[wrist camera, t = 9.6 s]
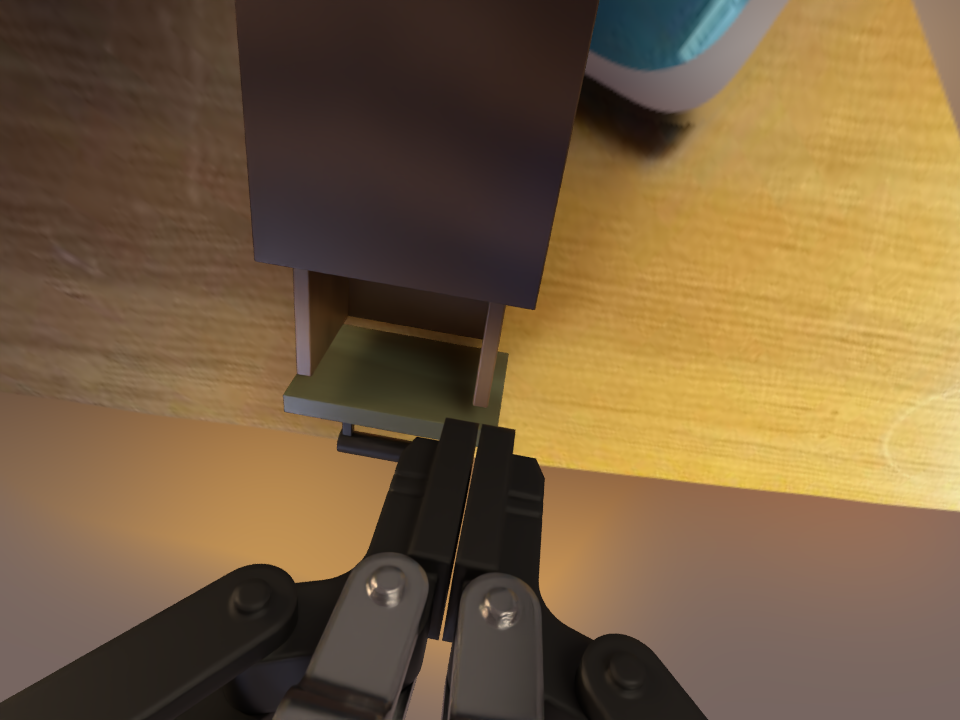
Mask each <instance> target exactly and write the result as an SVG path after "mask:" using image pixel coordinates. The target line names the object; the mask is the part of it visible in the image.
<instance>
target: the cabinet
mask: <svg viewBox="0 0 960 720" xmlns="http://www.w3.org/2000/svg"><path fill="white" fill-rule="evenodd" d="M598 5H599V0H235V9H236V22H237V35H238V49H239V62H240V75H241V88H242V102H243V115H244V128H245V141H246V154H247V168H248V181H249V194H250V207H251V221H252V234H253V247H254V260H255V261H257V262H263V263H268V264H274V265H280V266H286V267H291V268H297V269H303V270H308V271H314V272H320V273H326V274H331V275H337V276H343V277H348V278H354V279H360V280H366V281H371V282H377V283H383V284H388V285H394V286H400V287H406V288H411V289H417V290H423V291H428V292H434V293H440V294H446V295H451V296H457V297H463V298H468V299H474V300H480V301H486V302H491V303H497V304H503V305H508V306H514V307H520V308H526V309H531V310H535V308H536V303H537V299H538V294H539V289H540V284H541V279H542V274H543V270H544V265H545V260H546V255H547V250H548V246H549V241H550V236H551V231H552V226H553V222H554V217H555V212H556V207H557V202H558V197H559V193H560V188H561V183H562V178H563V173H564V169H565V164H566V159H567V154H568V149H569V145H570V140H571V135H572V130H573V125H574V120H575V116H576V111H577V106H578V101H579V96H580V92H581V87H582V82H583V77H584V72H585V68H586V63H587V58H588V53H589V48H590V43H591V39H592V34H593V29H594V24H595V19H596V15H597V10H598Z"/></svg>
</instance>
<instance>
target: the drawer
mask: <svg viewBox="0 0 960 720" xmlns="http://www.w3.org/2000/svg"><path fill="white" fill-rule="evenodd" d="M293 284H294V310H295V336H296V361H297V374H296V376H295V377H294V379H293V380H292V382H291V383H290V385H289V386H288V388H287V390H286V391H285V393H284V394H283V399H284V412H288V413H294V414H299V415H305V416H310V417H316V418H321V419H327V420H332V421H338V422H342V430H341V431H340V434H339V437H338V441H337V451H339V452H344V453H349V454H355V455H361V456H366V457H371V458H377V459H382V460H388V461H394V462H398V461H399V458H400V455H401V452H402V451H403V450H404V449H405V448H406V447H407V446H408V445H409V444H410V443H411V442H412V441H408V440H403V439H397V438H392V437H386V436H381V435H375V434H370V433H364V432H359V431H354V425H360V426H365V427H371V428H377V429H382V430H388V431H393V432H399V433H404V434H410V435H415V436H421V437H426V438H432V439H437V440H440V437H441V433H442V429H443V426H444V422H445V419H446V417H448V418H453V419H458V420H464V421H469V422H475V423H479V429H478V435H477V441H476V447H478V443H479V438H480V433H481V427H482V424H487V425H492V426H497V427H498V422H499V415H500V409H501V402H502V395H503V389H504V382H505V375H506V369H507V362H508V355H509V354H508V353H504V352H498V347H499V342H500V336H501V330H502V325H503V319H504V313H505V308H506V305H503V304H497V303H491V302H486V301H480V300H474V299H468V298H463V297H457V296H451V295H446V294H440V293H434V292H428V291H423V290H417V289H411V288H406V287H400V286H394V285H388V284H383V283H377V282H371V281H366V280H360V279H354V278H348V277H343V276H337V275H331V274H326V273H320V272H314V271H308V270H303V269H297V268H293ZM348 316H353V317H359V318H364V319H370V320H376V321H381V322H387V323H392V324H398V325H404V326H409V327H415V328H421V329H426V330H432V331H438V332H443V333H449V334H455V335H460V336H466V337H472V338H477V339H483V341H482V347H481V348H476V347H470V346H465V345H459V344H453V343H448V342H442V341H436V340H431V339H425V338H419V337H414V336H408V335H402V334H397V333H391V332H385V331H380V330H374V329H368V328H363V327H357V326H352V325H346V324H343V323H344V322H345V320H346V318H347V317H348Z"/></svg>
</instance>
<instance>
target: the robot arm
mask: <svg viewBox="0 0 960 720" xmlns="http://www.w3.org/2000/svg"><path fill="white" fill-rule="evenodd" d="M478 429H479V423H475V422H469V421H464V420H458V419H453V418H448V417H446V419H445V422H444V426H443V429H442V433H441V437H440V440H439V441H437V440H432V439H427V438H421V437H416V438H415V439H414V440H413V441H412V442H411V443H410V444H409V445H408V446H407V447H406V448H405V449H404V450H403V451H402V452H401V455H400V458H399V461H398V464H397V467H396V470H395V474H394V476H393V479H392V482H391V484H390V488H389V491H388V493H387V496H386V499H385V502H384V505H383V508H382V511H381V514H380V517H379V520H378V523H377V526H376V529H375V532H374V535H373V538H372V541H371V543H370V546H369V549H368V551H367V554H366V555H365V556H364V558H363V559H362V560H361V561H360V562H359V563H358V564H357V565H356V566H355V567H354V568H353V569H351V570H350V571H348V572H347V573H345V574H342V575H340V576H338V577H335V578H331V579H326V580H319V581H309V582H300V583H295V582H294V581H293V579H292V577H291V576H290V575H289V574H288V573H287V572H286V571H284V570H282V569H281V568H279V567H276V566H273V565H269V564H252V565H247V566H244V567H241V568H238V569H236V570H234V571H232V572H230V573H228V574H227V575H225V576H223V577H221V578H220V579H218V580H216V581H214V582H213V583H211V584H209V585H207V586H206V587H204V588H202V589H200V590H198V591H197V592H195V593H193V594H191V595H190V596H188V597H186V598H184V599H183V600H181V601H179V602H177V603H176V604H174V605H172V606H170V607H168V608H167V609H165V610H163V611H162V612H160V613H158V614H156V615H154V616H153V617H151V618H149V619H147V620H146V621H144V622H142V623H140V624H139V625H137V626H135V627H133V628H132V629H130V630H128V631H126V632H124V633H123V634H121V635H119V636H117V637H116V638H114V639H112V640H110V641H109V642H107V643H105V644H103V645H101V646H100V647H98V648H96V649H95V650H93V651H91V652H89V653H87V654H86V655H84V656H82V657H80V658H79V659H77V660H75V661H73V662H72V663H70V664H68V665H66V666H64V667H63V668H61V669H59V670H57V671H56V672H54V673H52V674H50V675H49V676H47V677H45V678H43V679H42V680H40V681H38V682H36V683H34V684H33V685H31V686H29V687H27V688H26V689H24V690H22V691H20V692H19V693H17V694H15V695H13V696H11V697H10V698H8V699H6V700H4V701H3V702H1V703H0V720H405V717H406V713H407V710H408V707H409V703H410V700H411V696H412V693H413V690H414V686H415V683H416V679H417V676H418V674H419V672H420V669H421V666H422V662H423V658H424V653H425V648H426V644H427V639H428V638H430V639H435V640H439V635H440V630H441V625H442V620H443V615H444V610H445V605H446V600H447V595H448V590H449V585H450V579H451V574H452V569H453V564H454V559H455V554H456V549H457V544H458V539H459V534H460V528H461V524H462V519H463V513H464V508H465V503H466V498H467V493H468V487H469V482H470V476H471V470H472V464H473V458H474V452H475V447H476V441H477V435H478ZM514 439H515V430H514V429H508V428H503V427H497V426H492V425H487V424H482V427H481V433H480V438H479V443H478V448H477V453H476V458H475V463H474V469H473V474H472V479H471V484H470V489H469V495H468V499H467V505H466V510H465V515H464V521H463V525H462V530H461V536H460V541H459V546H458V551H457V556H456V562H455V567H454V573H453V579H452V585H451V591H450V597H449V603H448V610H447V615H446V621H445V627H444V633H443V639H442V640H443V641H447V642H452V647H451V653H450V658H449V664H448V670H447V676H446V681H445V687H444V696H443V706H442V716H441V720H708V719H707V718H706V716H705V715H704V714H703V713H702V711H701V710H700V709H699V708H698V706H697V705H696V704H695V703H694V701H693V700H692V699H691V698H690V697H689V695H688V694H687V693H686V692H685V690H684V689H683V688H682V687H681V686H680V684H679V683H678V682H677V681H676V679H675V678H674V677H673V676H672V674H671V673H670V672H669V671H668V669H667V668H666V667H665V665H664V664H663V663H662V662H661V660H660V659H659V658H658V657H657V656H656V654H655V653H654V652H653V651H652V650H651V649H650V648H649V647H647V646H646V645H645V644H643V643H642V642H640V641H639V640H637V639H635V638H633V637H630V636H627V635H623V634H607V635H603V636H600V637H598V638H596V639H595V640H592V639H591V638H589V637H586V636H585V635H583V634H581V633H579V632H577V631H575V630H574V629H572V628H570V627H568V626H567V625H565V624H563V623H562V622H561V621H559V620H558V619H557V618H556V617H555V616H554V615H553V614H552V613H551V612H550V610H549V609H548V608H547V607H546V605H545V603H544V601H543V599H542V597H541V594H540V590H539V565H540V547H541V532H542V515H543V497H544V482H545V478H544V476H543V473H542V472H541V469H540V467H539V464H538V462H537V460H536V458H530V457H525V456H519V455H514V454H513V447H514Z"/></svg>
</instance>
